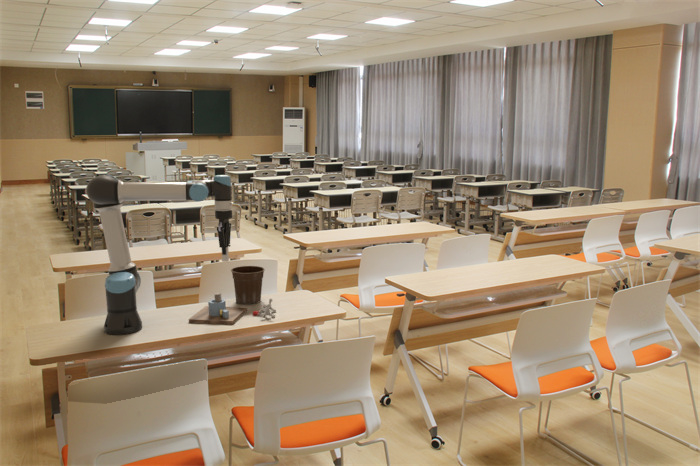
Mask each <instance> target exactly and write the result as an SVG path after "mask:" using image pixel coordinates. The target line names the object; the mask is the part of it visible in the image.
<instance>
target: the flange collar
mask: <svg viewBox="0 0 700 466" xmlns="http://www.w3.org/2000/svg"><path fill="white" fill-rule="evenodd" d="M221 300H222V302H215V298H213V299H210V300H208V302H207V303H208V304H207V306H209V315H211V316H220V309H222V316H223V318H229V311H227V310H226V307H227V306H226V305H227V304H226V303H227V302H226V299H224V298H221Z"/></svg>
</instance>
